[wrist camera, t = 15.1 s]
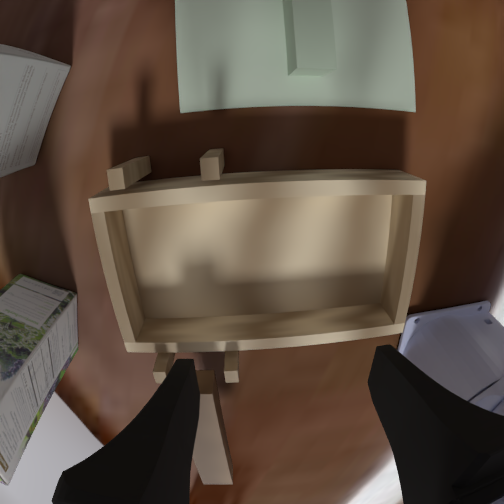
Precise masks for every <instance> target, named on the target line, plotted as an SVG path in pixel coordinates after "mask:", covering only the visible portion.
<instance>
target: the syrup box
mask: <svg viewBox="0 0 504 504" xmlns="http://www.w3.org/2000/svg"><path fill="white" fill-rule="evenodd" d="M77 351H78V328H77V294H76V293H75V292H72V291H69V290H66V289H63V288H60V287H57V286H54V285H51V284H48V283H45V282H42V281H39V280H37V279H34V278H31V277H28V276H26V275H23V274H19V275H17V276H16V277H15V278H14V279H13V280H12V281H10V282H9V283H8V284H7V285H6V286H5V287H4V288H2V289H1V290H0V482H1V483H3V484H5V485H9V483H10V481H11V479H12V477H13V474H14V472H15V470H16V468H17V466H18V463H19V461H20V459H21V457H22V454H23V452H24V450H25V448H26V446H27V443H28V441H29V439H30V437H31V435H32V433H33V431H34V429H35V427H36V425H37V423H38V421H39V419H40V417H41V415H42V414H43V412H44V410H45V407H46V406H47V404H48V402H49V400H50V398H51V396H52V394H53V392H54V391H55V389H56V387H57V385H58V383H59V382H60V380H61V378H62V376H63V374H64V373H65V371H66V369H67V368H68V366H69V364H70V362H71V361H72V359H73V357H74V356H75V354H76V352H77Z"/></svg>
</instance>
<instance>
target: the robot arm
mask: <svg viewBox="0 0 504 504" xmlns="http://www.w3.org/2000/svg"><path fill="white" fill-rule="evenodd" d="M490 307H491V303H490V302H489V301H482V302H477V303H472V304H467V305H462V306H457V307H451V308H446V309H440V310H434V311H428V312H422V313H416V314H410V315H408V316H407V317H406V320H405V325H404V329H403V333H402V334H401V338H400V342H399V346H398V350H396V349H395V348H394V347H393V346H391V345H383V346H377V347H376V351H375V355H374V359H373V363H372V367H371V371H370V375H369V379H368V386H369V390H370V394H371V397H372V401H373V404H374V406H375V409H376V411H377V413H378V416H379V418H380V421H381V423H382V425H383V428H384V430H385V433H386V435H387V438H388V440H389V442H390V445H391V448H392V451H393V454H394V458H395V462H396V466H397V470H398V475H399V480H400V485H401V490H402V496H403V503H404V504H504V327H503V326H502V325H501V324H500V323H499V322H498V321H497V320H496V319H495V318H494V317H493V316H492V315H491V314H490V313H489V310H490ZM416 319H417V320H416ZM415 320H416V321H415ZM199 411H200V391H199V386H198V381H197V376H196V370H195V365H194V360H193V359H177V360H176V361H175V363H174V365H173V366H172V368H171V370H170V371H169V373H168V374H167V376H166V378H165V379H164V381H163V382H162V384H161V385H160V386H159V388H158V389H157V391H156V392H155V393H154V395H153V396H152V398H151V399H150V400H149V401H148V403H147V404H146V405H145V406H144V408H143V409H142V410H141V411H140V412H139V414H138V415H137V416H136V417H135V418H134V419H133V420H132V421H131V422H130V423H129V424H128V425H127V426H126V427H125V428H124V429H123V430H122V431H121V432H120V433H119V434H118V435H117V436H116V437H115V438H113V439H112V440H111V441H110V442H109V443H107V444H106V445H105V446H104V447H102V448H101V449H99V450H98V451H97V452H95V453H94V454H92V455H91V456H90V457H88V458H87V459H85V460H83V461H82V462H80V463H78V464H76V465H74V466H73V467H71V468H69V469H67V470H65V471H63V472H62V475H61V477H60V478H59V481H58V484H57V486H56V490H55V493H54V495H53V498H52V503H53V504H189V490H190V470H191V462H192V456H193V450H194V444H195V438H196V433H197V427H198V421H199Z"/></svg>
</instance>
